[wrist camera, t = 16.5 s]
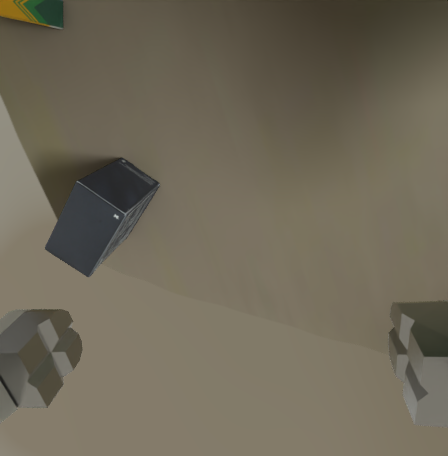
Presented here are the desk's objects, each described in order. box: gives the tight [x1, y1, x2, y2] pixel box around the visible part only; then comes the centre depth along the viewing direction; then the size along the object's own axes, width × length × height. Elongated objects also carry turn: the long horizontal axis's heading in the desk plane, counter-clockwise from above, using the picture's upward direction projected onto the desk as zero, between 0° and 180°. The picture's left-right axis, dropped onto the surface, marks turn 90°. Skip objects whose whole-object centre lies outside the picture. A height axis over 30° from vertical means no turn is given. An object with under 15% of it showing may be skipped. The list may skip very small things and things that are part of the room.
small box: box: [45, 158, 160, 277], centre depth 40 cm, size 11×6×10 cm, turn 146°
